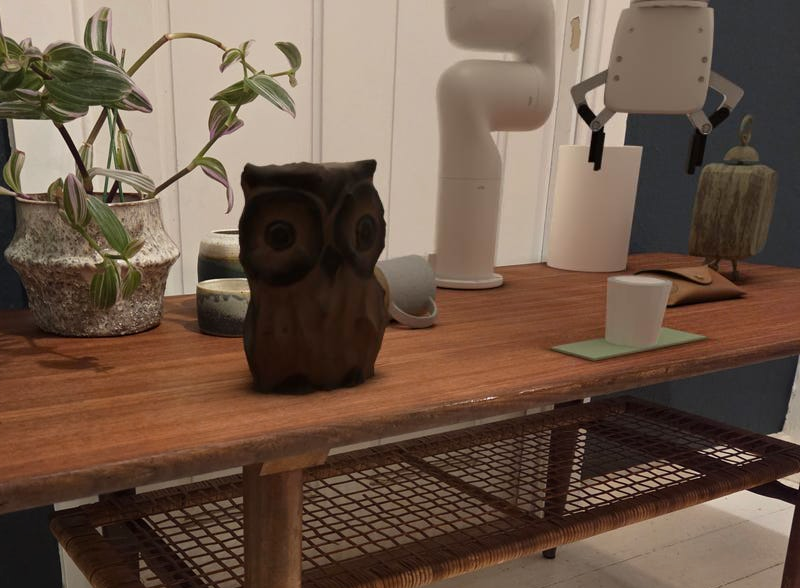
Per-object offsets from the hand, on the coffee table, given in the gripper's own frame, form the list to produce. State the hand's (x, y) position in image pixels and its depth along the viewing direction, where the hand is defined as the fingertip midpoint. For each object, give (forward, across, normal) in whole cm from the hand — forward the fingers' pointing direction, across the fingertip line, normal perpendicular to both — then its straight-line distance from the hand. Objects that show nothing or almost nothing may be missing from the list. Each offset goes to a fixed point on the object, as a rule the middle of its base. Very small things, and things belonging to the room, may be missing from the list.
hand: (642, 171), depth 96 cm
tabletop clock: (+19, -18, -52) cm, 58 cm away
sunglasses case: (+19, -11, -31) cm, 38 cm away
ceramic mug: (+19, +26, -2) cm, 32 cm away
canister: (+20, +3, -59) cm, 62 cm away
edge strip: (+18, -1, +3) cm, 19 cm away
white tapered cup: (+18, -1, +3) cm, 19 cm away
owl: (+18, +30, +28) cm, 45 cm away
